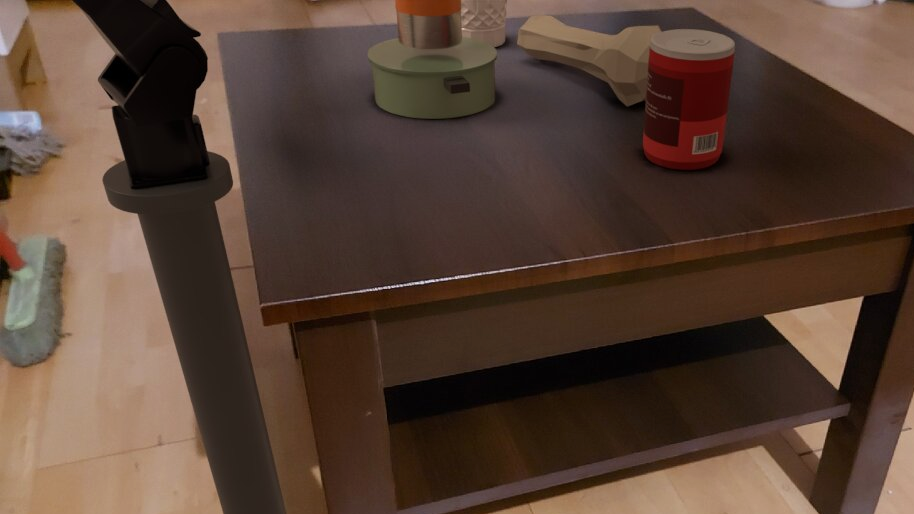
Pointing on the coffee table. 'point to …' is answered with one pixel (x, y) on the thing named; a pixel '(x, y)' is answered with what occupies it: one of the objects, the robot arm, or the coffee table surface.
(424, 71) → the pot
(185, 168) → the robot arm
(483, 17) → the white cup
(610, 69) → the faceted club
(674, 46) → the canned food
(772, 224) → the coffee table surface
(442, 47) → the tin can
